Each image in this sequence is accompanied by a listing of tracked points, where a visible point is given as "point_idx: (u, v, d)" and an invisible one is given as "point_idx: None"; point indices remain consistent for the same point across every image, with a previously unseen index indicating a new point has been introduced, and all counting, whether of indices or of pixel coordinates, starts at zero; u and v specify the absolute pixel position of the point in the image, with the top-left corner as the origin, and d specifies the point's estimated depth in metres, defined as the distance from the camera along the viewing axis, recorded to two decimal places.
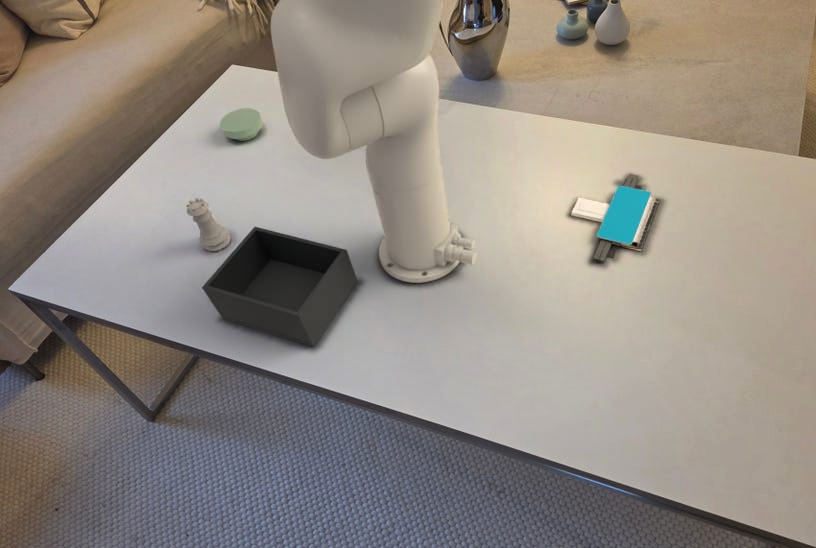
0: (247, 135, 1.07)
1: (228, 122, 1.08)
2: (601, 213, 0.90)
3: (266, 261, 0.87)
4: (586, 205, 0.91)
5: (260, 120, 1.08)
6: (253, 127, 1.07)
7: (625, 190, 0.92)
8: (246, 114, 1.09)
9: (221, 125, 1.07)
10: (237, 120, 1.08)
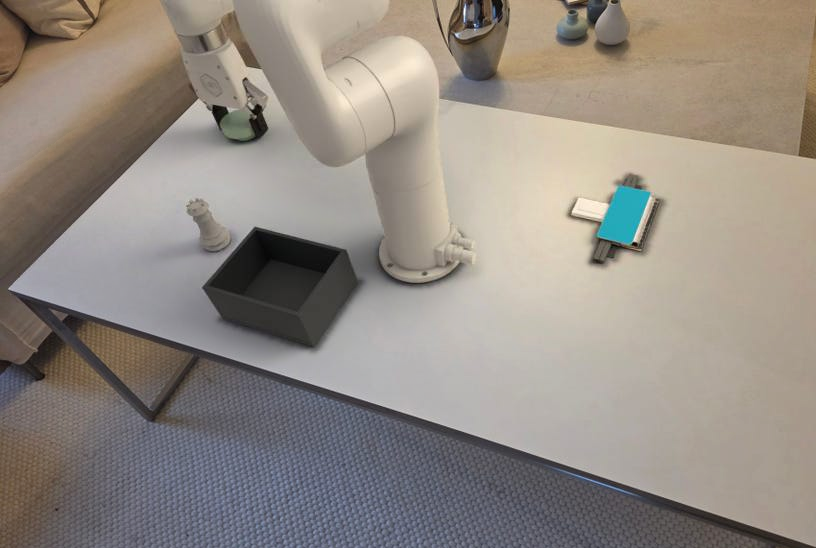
0: (247, 135, 1.07)
1: (228, 122, 1.08)
2: (601, 213, 0.90)
3: (266, 261, 0.87)
4: (586, 205, 0.91)
5: None
6: None
7: (625, 190, 0.92)
8: (246, 114, 1.09)
9: (221, 125, 1.07)
10: (237, 120, 1.08)
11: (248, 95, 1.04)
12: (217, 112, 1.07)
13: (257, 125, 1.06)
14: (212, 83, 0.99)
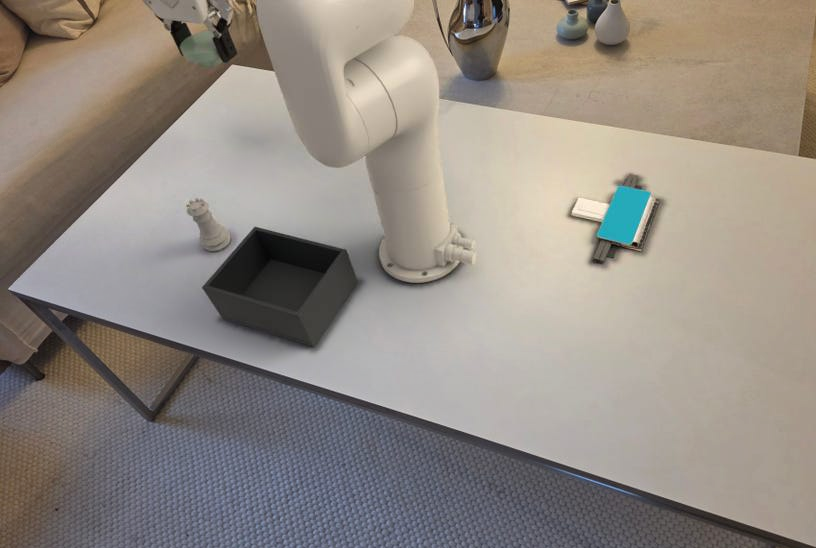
0: (211, 58, 0.91)
1: (190, 44, 0.92)
2: (601, 213, 0.90)
3: (266, 261, 0.87)
4: (586, 205, 0.91)
5: None
6: None
7: (625, 190, 0.92)
8: (211, 35, 0.93)
9: (181, 47, 0.92)
10: (200, 42, 0.92)
11: (211, 9, 0.88)
12: (177, 32, 0.92)
13: (223, 47, 0.91)
14: None
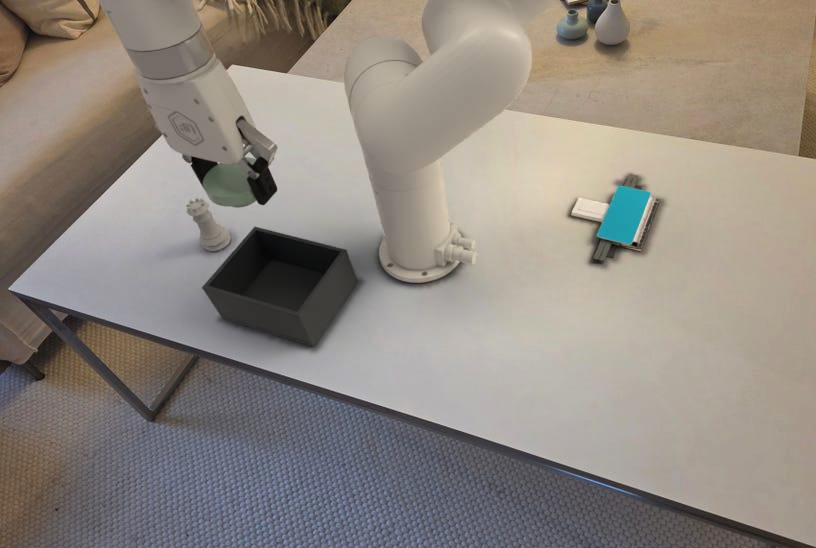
0: (244, 201, 0.69)
1: (215, 180, 0.70)
2: (601, 213, 0.90)
3: (266, 261, 0.87)
4: (586, 205, 0.91)
5: None
6: None
7: (625, 190, 0.92)
8: None
9: (204, 185, 0.69)
10: (229, 177, 0.70)
11: (246, 142, 0.66)
12: (199, 165, 0.70)
13: (261, 187, 0.68)
14: (188, 125, 0.62)
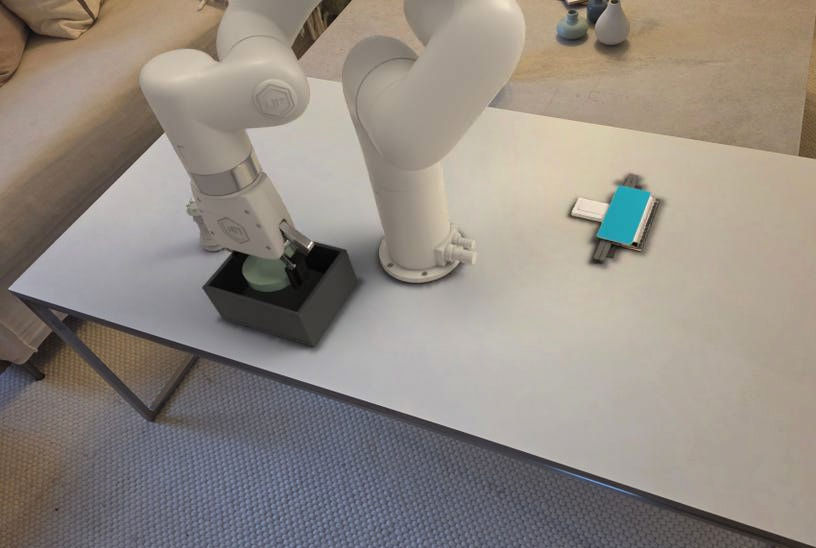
0: (281, 287, 0.77)
1: (254, 267, 0.77)
2: (601, 213, 0.90)
3: None
4: (586, 205, 0.91)
5: None
6: None
7: (625, 190, 0.92)
8: None
9: (244, 272, 0.77)
10: (266, 265, 0.77)
11: None
12: (239, 254, 0.77)
13: (296, 275, 0.76)
14: (236, 228, 0.69)
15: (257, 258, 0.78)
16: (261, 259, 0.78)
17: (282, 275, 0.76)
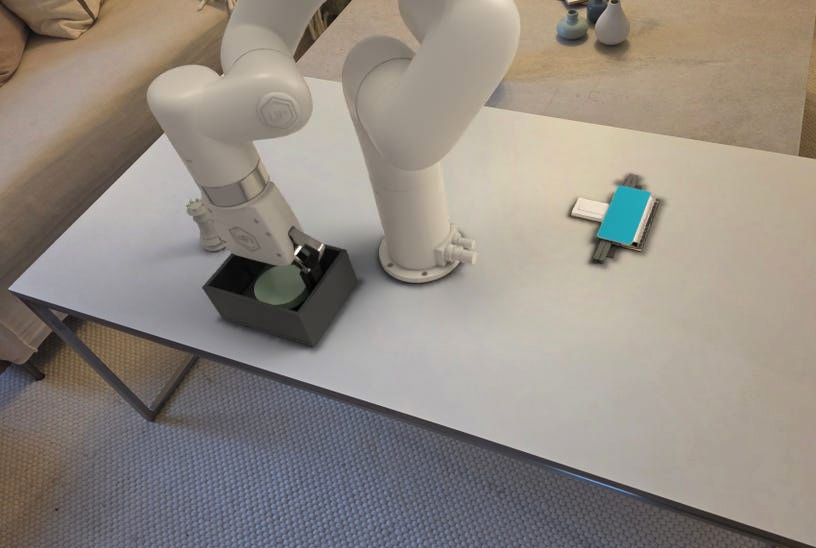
0: (291, 307, 0.80)
1: (265, 288, 0.81)
2: (601, 213, 0.90)
3: None
4: (586, 205, 0.91)
5: None
6: (299, 297, 0.80)
7: (625, 190, 0.92)
8: (288, 274, 0.82)
9: (256, 292, 0.80)
10: (277, 285, 0.81)
11: None
12: None
13: (311, 278, 0.77)
14: (246, 237, 0.71)
15: (268, 279, 0.82)
16: (272, 280, 0.81)
17: (292, 295, 0.79)
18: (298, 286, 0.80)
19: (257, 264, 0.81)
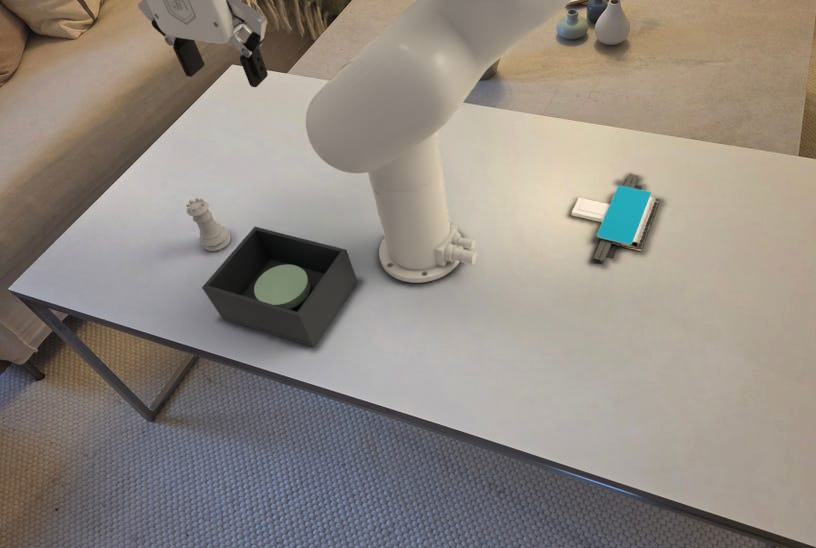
0: (291, 307, 0.80)
1: (265, 288, 0.81)
2: (601, 213, 0.90)
3: (266, 261, 0.87)
4: (586, 205, 0.91)
5: (307, 284, 0.81)
6: (299, 297, 0.80)
7: (625, 190, 0.92)
8: (288, 274, 0.82)
9: (256, 292, 0.80)
10: (277, 285, 0.81)
11: (236, 22, 0.70)
12: (181, 48, 0.73)
13: (253, 68, 0.72)
14: (180, 2, 0.66)
15: (268, 279, 0.82)
16: (272, 280, 0.81)
17: (292, 295, 0.79)
18: (298, 286, 0.80)
19: (195, 63, 0.76)
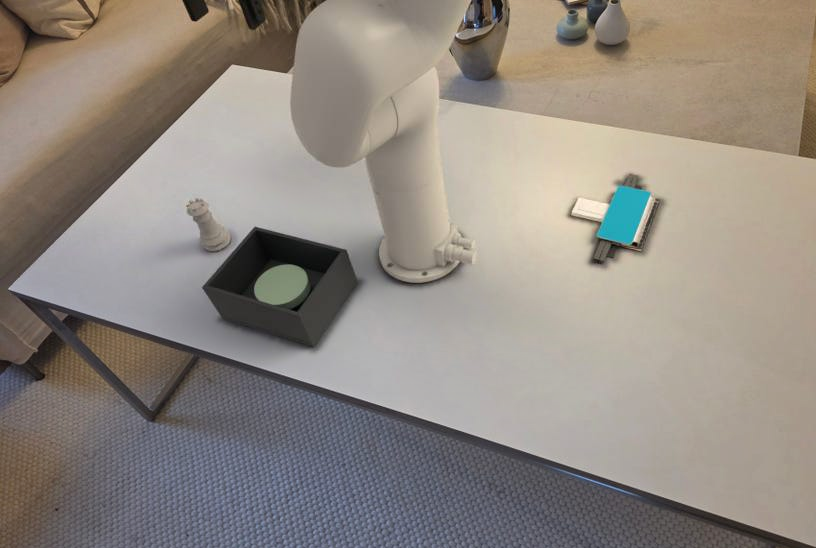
0: (291, 307, 0.80)
1: (265, 288, 0.81)
2: (601, 213, 0.90)
3: (266, 261, 0.87)
4: (586, 205, 0.91)
5: (307, 284, 0.81)
6: (299, 297, 0.80)
7: (625, 190, 0.92)
8: (288, 274, 0.82)
9: (256, 292, 0.80)
10: (277, 285, 0.81)
11: None
12: None
13: (251, 10, 0.77)
14: None
15: (268, 279, 0.82)
16: (272, 280, 0.81)
17: (292, 295, 0.79)
18: (298, 286, 0.80)
19: (199, 8, 0.81)
